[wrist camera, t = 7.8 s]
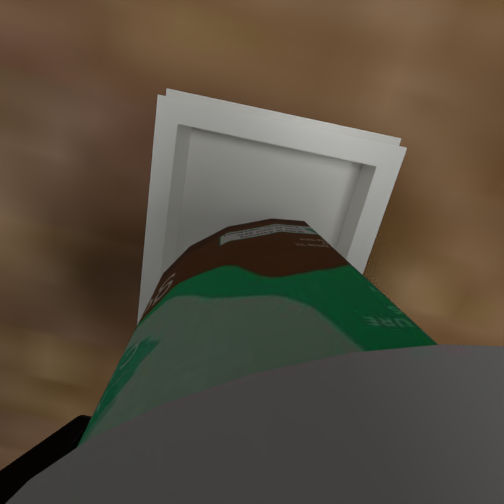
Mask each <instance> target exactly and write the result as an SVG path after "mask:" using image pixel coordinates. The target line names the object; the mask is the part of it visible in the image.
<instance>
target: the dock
mask: <svg viewBox="0 0 504 504" xmlns="http://www.w3.org/2000/svg"><path fill="white" fill-rule="evenodd" d="M400 141H401V138H397V137H392V136H387V135H383V134H378V133H373V132H368V131H364V130H359V129H354V128H350V127H345V126H340V125H336V124H331V123H326V122H322V121H317V120H312V119H308V118H303V117H298V116H294V115H289V114H284V113H280V112H275V111H270V110H266V109H261V108H256V107H252V106H247V105H242V104H238V103H233V102H228V101H224V100H219V99H214V98H210V97H205V96H200V95H196V94H191V93H186V92H182V91H177V90H172V89H168V88H167V90H166V96H162V95H158V98H157V109H156V120H155V131H154V142H153V154H152V165H151V176H150V187H149V198H148V209H147V220H146V231H145V242H144V253H143V264H142V275H141V287H140V298H139V309H138V320H137V325H138V323H139V321H140V319H141V317H142V315H143V313H144V311H145V309H146V307H147V305H148V303H149V301H150V299H151V297H152V295H153V293H154V291H155V289H156V287H157V285H158V283H159V281H160V279H161V277H162V275H163V273H164V272H165V271H166V270H167V269H168V268H169V267H170V266H171V265H172V264H173V263H174V262H175V261H176V260H177V259H178V258H179V257H180V256H181V255H182V254H183V253H184V252H185V251H186V250H187V249H188V247H189V246H191V245H193V244H195V243H197V242H199V241H201V240H203V239H205V238H207V237H208V236H210V235H212V234H214V233H216V232H218V231H220V230H222V229H224V228H226V227H228V226H233V225H239V224H244V223H249V222H255V221H260V220H266V219H271V218H274V219H286V220H298V221H305V222H306V223H307V224H308V225H309V226H310V227H311V228H312V229H314V230H315V231H316V232H317V233H318V234H319V235H320V236H321V237H322V238H323V239H324V240H325V241H327V242H328V243H329V244H330V245H331V246H332V247H333V248H334V249H335V250H336V251H337V252H338V253H339V254H341V255H342V256H343V257H344V258H345V259H346V260H347V261H348V262H349V263H350V264H351V265H352V266H354V267H355V268H356V269H357V270H358V271H359V272H360V273H361V274H362V275H363V272H364V269H365V266H366V264H367V261H368V258H369V255H370V252H371V249H372V246H373V244H374V241H375V238H376V235H377V232H378V229H379V226H380V224H381V221H382V218H383V215H384V212H385V209H386V206H387V204H388V201H389V198H390V195H391V192H392V189H393V186H394V184H395V181H396V178H397V175H398V172H399V169H400V167H401V164H402V161H403V158H404V155H405V152H406V149H407V148H405V147H400V146H399V144H400Z"/></svg>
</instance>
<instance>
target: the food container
mask: <svg viewBox="0 0 504 504" xmlns="http://www.w3.org/2000/svg"><path fill="white" fill-rule="evenodd" d="M6 504H504V347H500V346H471V345H438V344H437V343H436V342H435V341H434V340H432V339H431V338H430V337H429V336H428V335H427V334H426V333H425V332H424V331H423V330H422V329H421V328H419V327H418V326H417V325H416V324H415V323H414V322H413V321H412V320H411V319H410V318H409V317H408V316H406V315H405V314H404V313H403V312H402V311H401V310H400V309H399V308H398V307H397V306H396V305H395V304H394V303H392V302H391V301H390V300H389V299H388V298H387V297H386V296H385V295H384V294H383V293H382V292H381V291H379V290H378V289H377V288H376V287H375V286H374V285H373V284H372V283H371V282H370V281H369V280H368V279H367V278H365V277H364V276H363V275H362V274H361V273H360V272H359V271H358V270H357V269H356V268H355V267H354V266H352V265H351V264H350V263H349V262H348V261H347V260H346V259H345V258H344V257H343V256H342V255H341V254H339V253H338V252H337V251H336V250H335V249H334V248H333V247H332V246H331V245H330V244H329V243H328V242H327V241H325V240H324V239H323V238H322V237H321V236H320V235H319V234H318V233H317V232H316V231H315V230H314V229H312V228H311V227H310V226H309V225H308V224H307V223H306V222H305V221H298V220H286V219H274V218H271V219H266V220H260V221H255V222H249V223H244V224H239V225H233V226H228V227H226V228H224V229H222V230H220V231H218V232H216V233H214V234H212V235H210V236H208V237H207V238H205V239H203V240H201V241H199V242H197V243H195V244H193V245H191V246H189V247H188V249H187V250H186V251H185V252H184V253H183V254H182V255H181V256H180V257H179V258H178V259H177V260H176V261H175V262H174V263H173V264H172V265H171V266H170V267H169V268H168V269H167V270H166V271H165V272H164V273H163V275H162V277H161V279H160V281H159V283H158V285H157V287H156V289H155V291H154V293H153V295H152V297H151V299H150V301H149V303H148V305H147V307H146V309H145V311H144V313H143V315H142V317H141V319H140V321H139V323H138V325H137V327H136V329H135V331H134V333H133V335H132V337H131V339H130V341H129V343H128V345H127V347H126V349H125V351H124V353H123V355H122V357H121V359H120V361H119V363H118V365H117V367H116V369H115V371H114V373H113V375H112V377H111V379H110V382H109V384H108V386H107V388H106V390H105V392H104V394H103V396H102V398H101V400H100V402H99V404H98V406H97V408H96V410H95V412H94V414H93V416H92V418H91V420H90V422H89V424H88V426H87V428H86V430H85V432H84V434H83V436H82V438H81V440H80V442H79V444H78V446H77V448H76V449H74V450H73V451H71V452H70V453H68V454H67V455H65V456H64V457H62V458H61V459H59V460H58V461H56V462H55V463H54V464H52V465H51V466H49V467H48V468H46V469H45V470H43V471H42V472H40V473H39V474H37V475H36V476H34V477H33V478H31V479H30V480H29V481H28V482H27V483H26V484H25V485H24V486H23V487H22V488H21V489H20V490H19V491H18V492H17V493H16V494H15V495H14V496H13V497H12V498H11V499H10V500H9V501H8V502H7V503H6Z"/></svg>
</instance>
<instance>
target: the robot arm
mask: <svg viewBox="0 0 504 504" xmlns="http://www.w3.org/2000/svg"><path fill="white" fill-rule="evenodd" d="M91 418H92V417H91V416H86V415H80V416H78V417H76V418H75V419H73V420H72V421H71V422H69V423H68V424H66V425H65V426H63V427H62V428H61V429H59V430H58V431H56V432H55V433H53V434H52V435H51V436H49V437H48V438H46V439H45V440H43V441H42V442H41V443H39V444H38V445H36V446H35V447H33V448H32V449H31V450H29V451H28V452H26V453H25V454H23V455H22V456H21V457H19V458H18V459H16V460H15V461H13V462H12V463H11V464H9V465H8V466H6V467H5V468H3V469H2V470H1V471H0V504H6V503H7V502H8V501H9V500H10V499H11V498H12V497H13V496H14V495H15V494H16V493H17V492H18V491H19V490H20V489H21V488H22V487H23V486H24V485H25V484H26V483H27V482H28V481H29V480H30V479H31V478H33V477H34V476H36V475H37V474H39V473H40V472H42V471H43V470H45V469H46V468H48V467H49V466H51V465H52V464H54V463H55V462H56V461H58V460H59V459H61V458H62V457H64V456H65V455H67V454H68V453H70V452H71V451H73V450H74V449H76V448H77V446H78V444H79V442H80V440H81V438H82V436H83V434H84V432H85V430H86V428H87V426H88V424H89V422H90V420H91Z"/></svg>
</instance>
